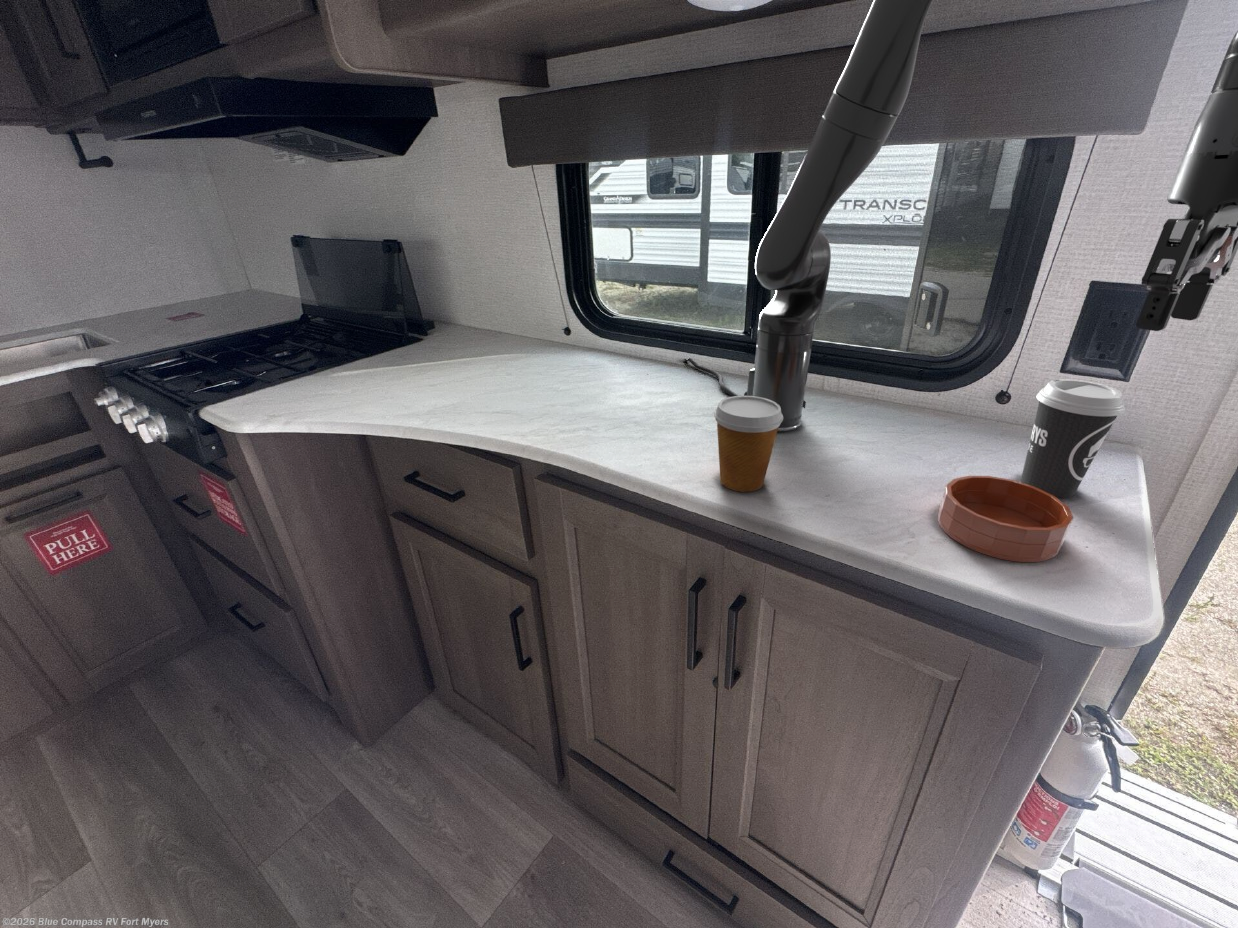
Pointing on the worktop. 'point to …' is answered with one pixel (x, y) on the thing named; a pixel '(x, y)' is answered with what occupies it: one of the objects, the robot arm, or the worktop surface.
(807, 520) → the worktop surface
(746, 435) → the disposable coffee cup
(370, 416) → the worktop surface
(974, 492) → the bowl
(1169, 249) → the robot arm
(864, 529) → the worktop surface
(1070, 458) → the coffee cup
